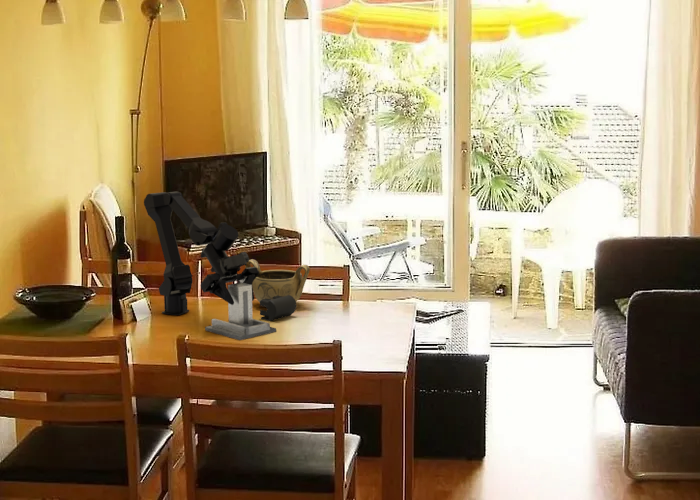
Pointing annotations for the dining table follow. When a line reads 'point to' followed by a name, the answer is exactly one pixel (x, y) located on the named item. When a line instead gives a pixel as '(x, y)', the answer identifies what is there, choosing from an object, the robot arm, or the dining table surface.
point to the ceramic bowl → (278, 282)
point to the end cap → (277, 307)
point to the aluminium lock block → (241, 304)
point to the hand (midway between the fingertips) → (243, 302)
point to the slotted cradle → (240, 329)
